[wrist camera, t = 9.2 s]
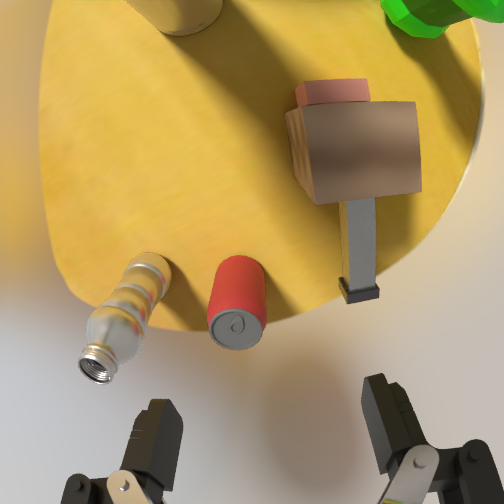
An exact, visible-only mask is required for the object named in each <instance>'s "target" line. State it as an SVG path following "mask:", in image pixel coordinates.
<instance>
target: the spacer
mask: <svg viewBox="0 0 504 504" xmlns="http://www.w3.org/2000/svg"><path fill="white" fill-rule="evenodd" d="M295 94H296V100H297V105H298V107H301V106H309V105H320V104H332V103H349V102H366V101H371V100H370V94H369V88H368V82H367V79H333V80H317V81H304V82H303V83H301V84H300V85H299V86H298V87H297V88H296V89H295Z"/></svg>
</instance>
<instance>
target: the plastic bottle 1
mask: <svg viewBox="0 0 504 504" xmlns="http://www.w3.org/2000/svg"><path fill="white" fill-rule="evenodd" d="M171 277H172V273H171V268H170V266H169V264H168V263H167V261H166V260H165V259H164V258H163V257H161V256H160V255H158V254H155V253H151V252H146V253H142V254H139V255H138V256H136V257H135V258H133V259H132V260H131V261H130V262H129V264H128V266H127V268H126V270H125V273H124V276H123V278H122V279H121V281H120V283H119V285H118V287H117V288H116V289H115V290H114V292H113V293H112V294H111V295H110V296H109V297H108V299H107V300H105V301H104V302H103V303H102V304H101V305H100V306H99V307H98V308H97V309H96V310H95V311H94V312H93V313H92V314H91V316H90V317H89V319H88V322H87V326H86V338H87V344H88V345H86V346H85V348H84V350H83V352H82V355H81V356H80V358H79V361H78V367H79V369H80V371H81V372H82V373H83V374H84V376H86V377H87V378H88V379H89V380H91V381H93V382H95V383H98V384H109V383H110V382H111V381H112V379H113V377H114V374H115V373H116V372H117V370H118V368H119V364H123V363H125V362H128V361H130V360H132V359H133V358H134V357H135V356H136V355H137V354H138V353H139V352H140V350H141V347H142V344H143V341H144V337H145V333H146V328H147V324H148V321H149V319H150V316H151V314H152V311H153V309H154V308H155V306H156V305H157V303H158V302H159V300H160V299H161V298H162V297H163V296H164V295H165V293H166V292H167V291H168V289H169V287H170V283H171Z"/></svg>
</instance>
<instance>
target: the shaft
mask: <svg viewBox="0 0 504 504" xmlns="http://www.w3.org/2000/svg"><path fill="white" fill-rule="evenodd" d="M338 204H339V217H340V231H341V249H342V273H343V277H340V278H339V288H340V290H341V292H342V294H343V296H344V298H345V301H346V302H347V304H351V303H356V302H362V301H366V300H371V299H376V298H379V290H380V289H379V287H378V286H377V284H376V283H375V277H376V210H375V198H367V199H359V200H352V201H344V202H338Z"/></svg>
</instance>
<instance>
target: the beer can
mask: <svg viewBox="0 0 504 504" xmlns="http://www.w3.org/2000/svg"><path fill="white" fill-rule="evenodd" d="M266 321H267V307H266V291H265V275H264V272H263V269H262V267H261V266H260V264H259V263H258V262H257V261H255V260H254V259H252V258H250V257H247V256H240V255H237V256H233V257H229V258H227V259H226V260H224V261H223V262H222V263H221V264H220V265H219V267H218V269H217V272H216V275H215V279H214V284H213V288H212V292H211V296H210V301H209V305H208V309H207V324H208V326H209V333H210V335H211V338H212V339H213V340H214V341H215V342H216V343H217V344H218V345H220V346H222V347H224V348H227V349H230V350H244V349H248V348H250V347H252V346H254V345H255V344H256V343H258V342H259V340H260V338H261V337H262V332H263V330H264V328H265V326H266Z"/></svg>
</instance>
